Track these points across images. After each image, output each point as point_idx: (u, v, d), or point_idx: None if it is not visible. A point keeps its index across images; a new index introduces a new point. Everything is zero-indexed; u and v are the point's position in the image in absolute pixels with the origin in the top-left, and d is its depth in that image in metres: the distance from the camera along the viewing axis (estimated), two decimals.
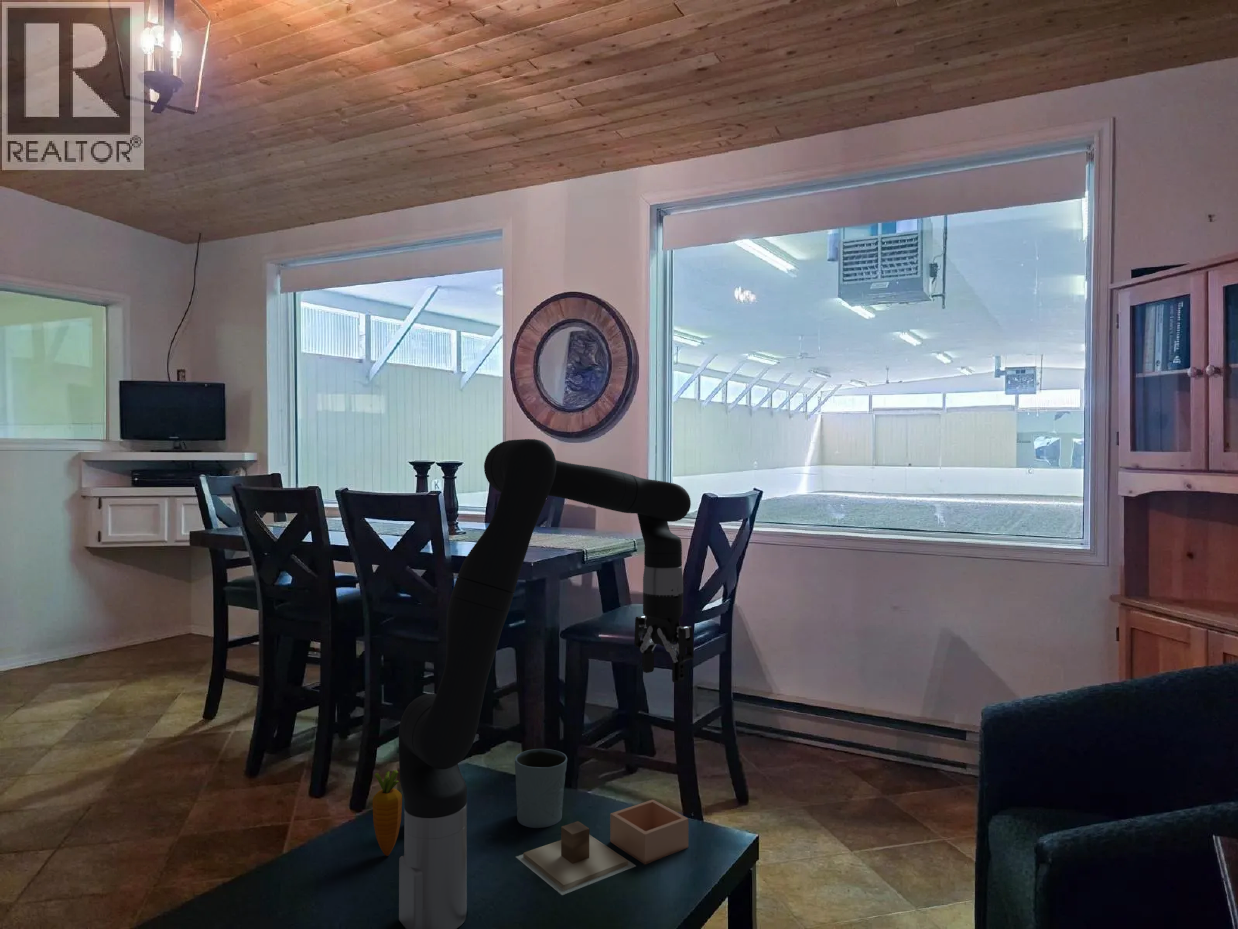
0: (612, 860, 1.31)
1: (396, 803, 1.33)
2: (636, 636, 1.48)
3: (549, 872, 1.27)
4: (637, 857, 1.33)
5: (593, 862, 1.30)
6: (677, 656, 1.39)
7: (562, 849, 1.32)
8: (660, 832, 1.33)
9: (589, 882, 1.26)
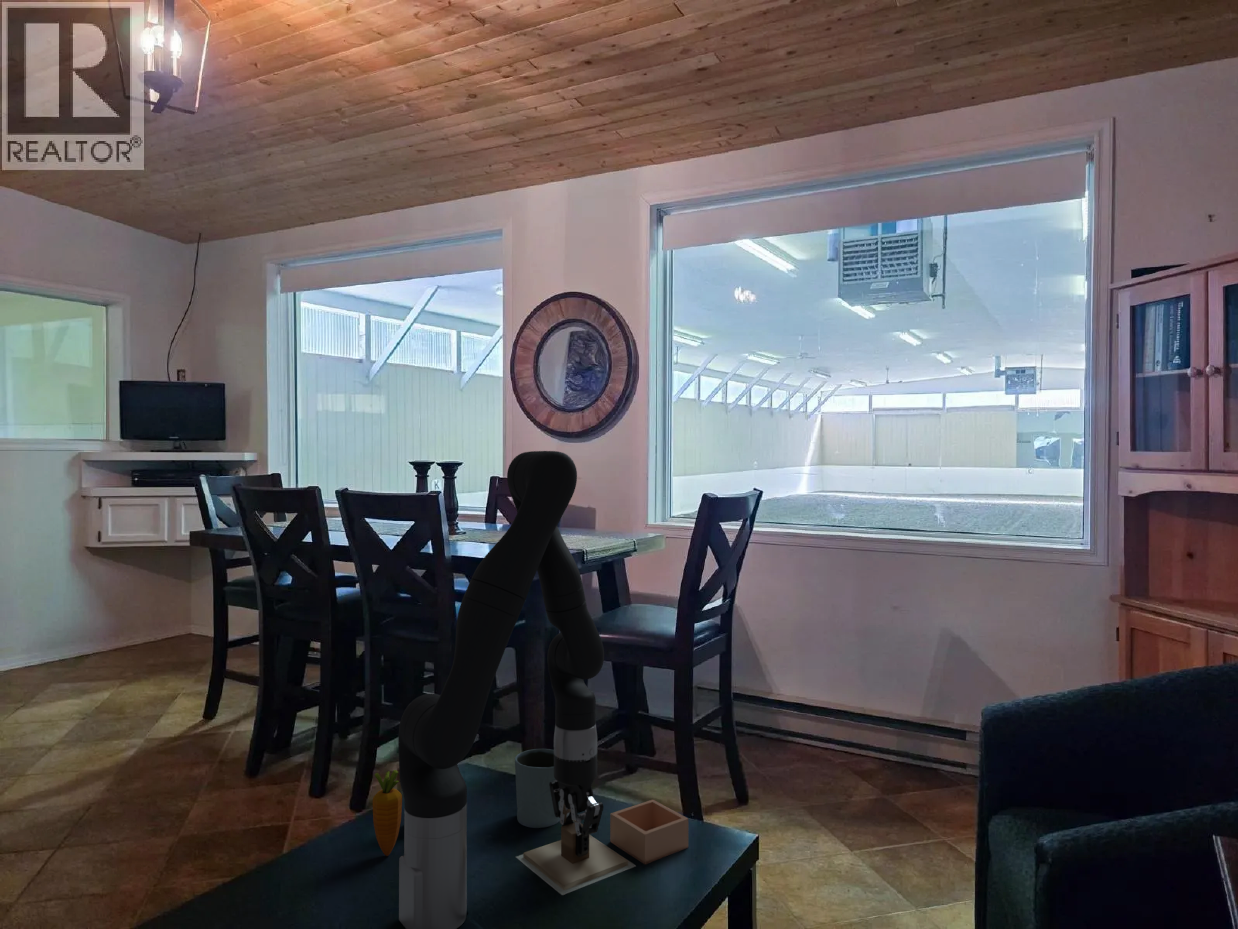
0: (612, 860, 1.31)
1: (396, 803, 1.33)
2: (554, 804, 1.35)
3: (549, 872, 1.27)
4: (637, 857, 1.33)
5: (593, 862, 1.30)
6: (580, 829, 1.29)
7: (562, 849, 1.32)
8: (660, 832, 1.33)
9: (589, 882, 1.26)
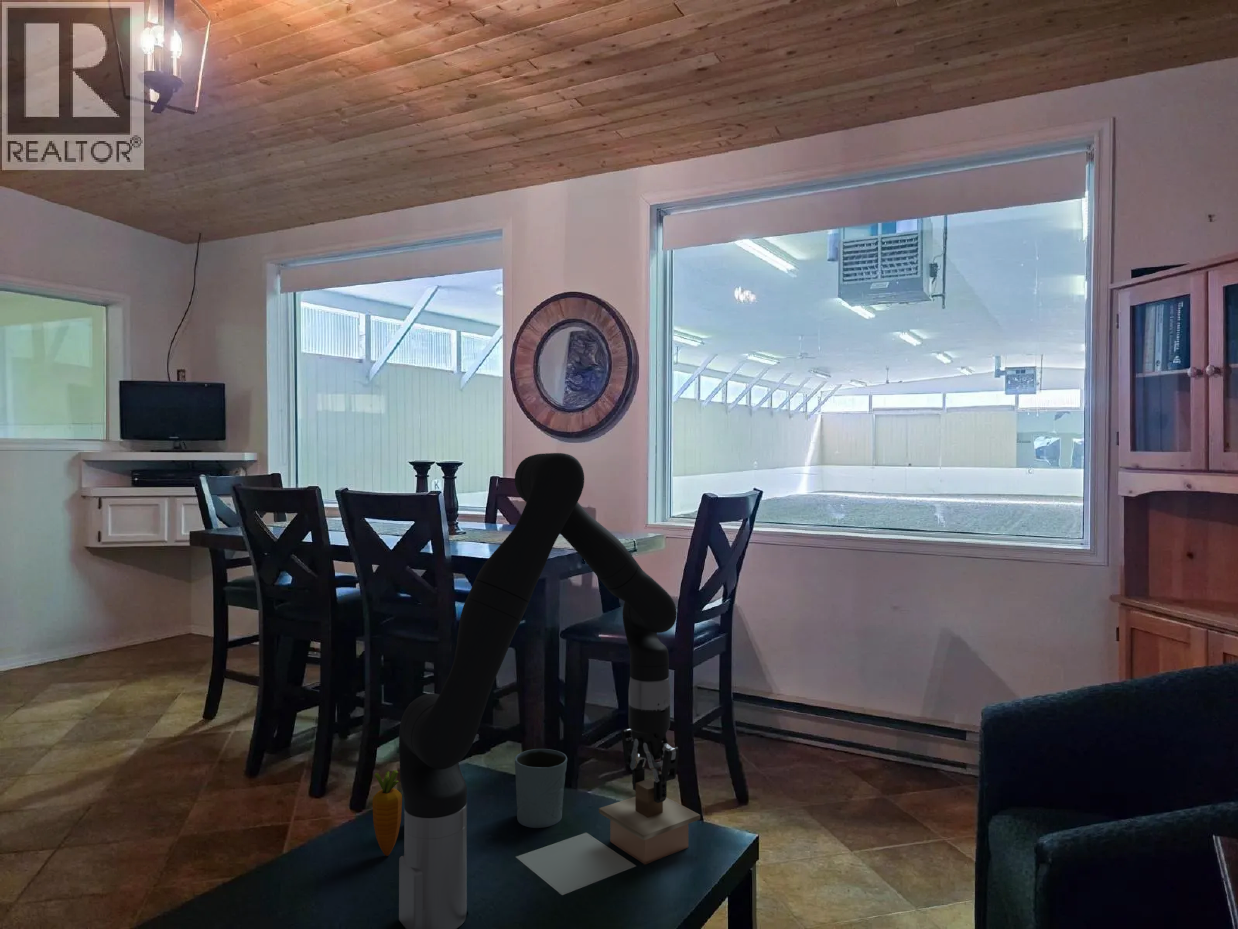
0: (685, 814, 1.37)
1: (396, 803, 1.33)
2: (625, 751, 1.42)
3: (627, 825, 1.33)
4: (637, 857, 1.33)
5: (667, 816, 1.36)
6: (659, 776, 1.35)
7: (636, 804, 1.38)
8: None
9: (589, 882, 1.26)
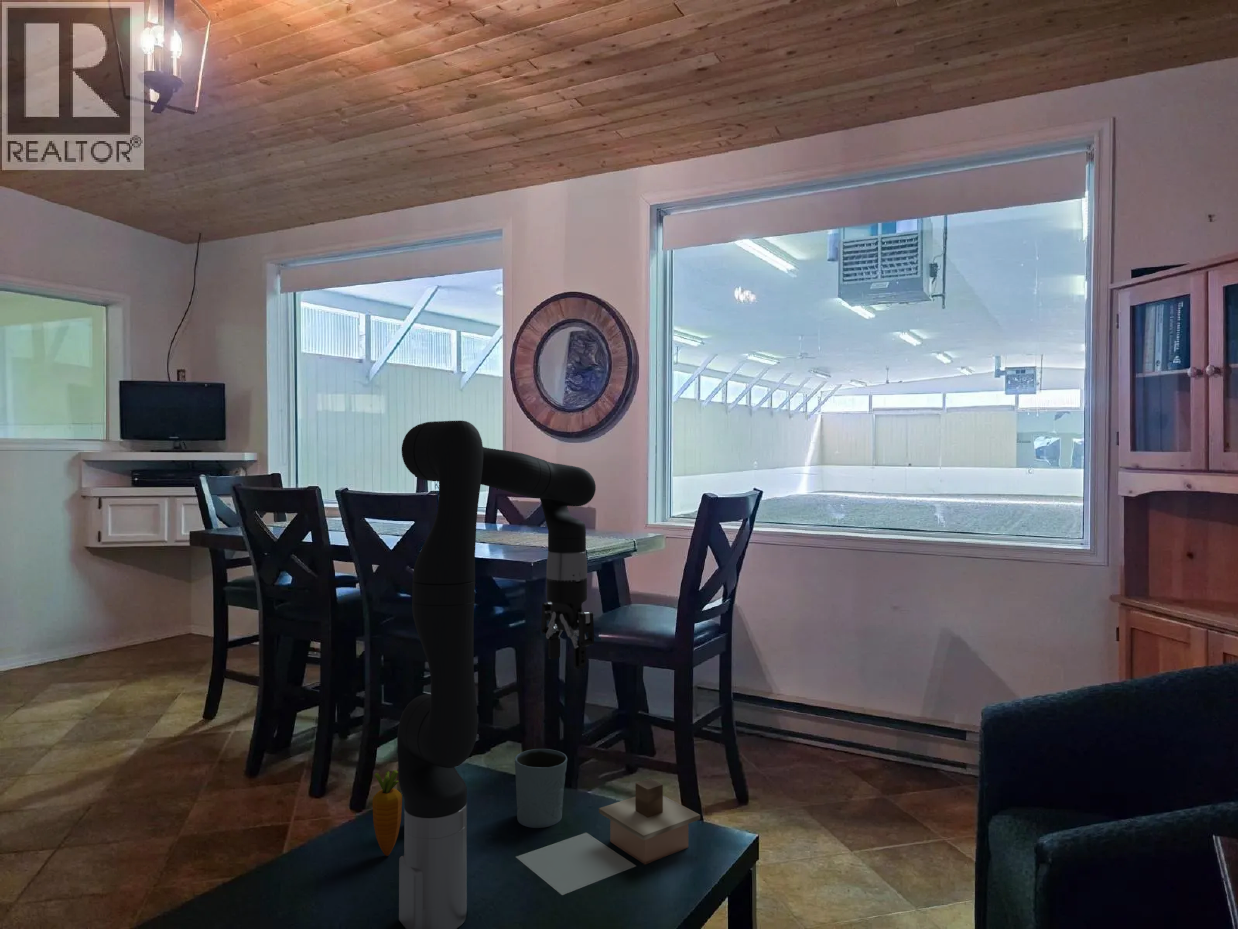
0: (685, 814, 1.37)
1: (396, 803, 1.33)
2: (543, 622, 1.47)
3: (627, 825, 1.33)
4: (637, 857, 1.33)
5: (667, 816, 1.36)
6: (578, 642, 1.38)
7: (636, 804, 1.38)
8: None
9: (589, 882, 1.26)
